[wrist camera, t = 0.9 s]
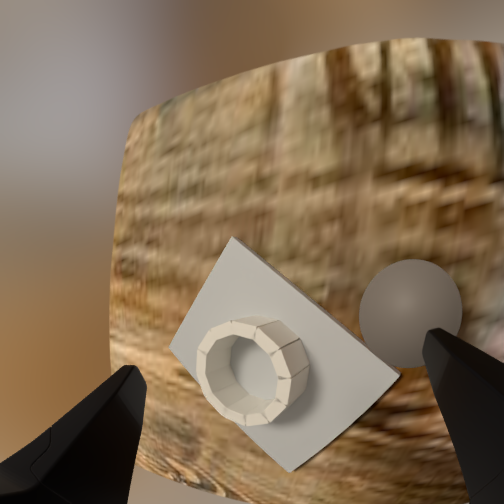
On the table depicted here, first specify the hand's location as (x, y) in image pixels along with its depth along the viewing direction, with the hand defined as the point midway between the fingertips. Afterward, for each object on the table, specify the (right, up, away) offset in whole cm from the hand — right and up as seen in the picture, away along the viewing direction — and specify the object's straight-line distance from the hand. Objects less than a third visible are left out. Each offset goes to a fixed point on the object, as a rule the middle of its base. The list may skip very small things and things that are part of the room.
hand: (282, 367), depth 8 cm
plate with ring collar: (0, -6, +17) cm, 18 cm away
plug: (+11, 0, +11) cm, 15 cm away
